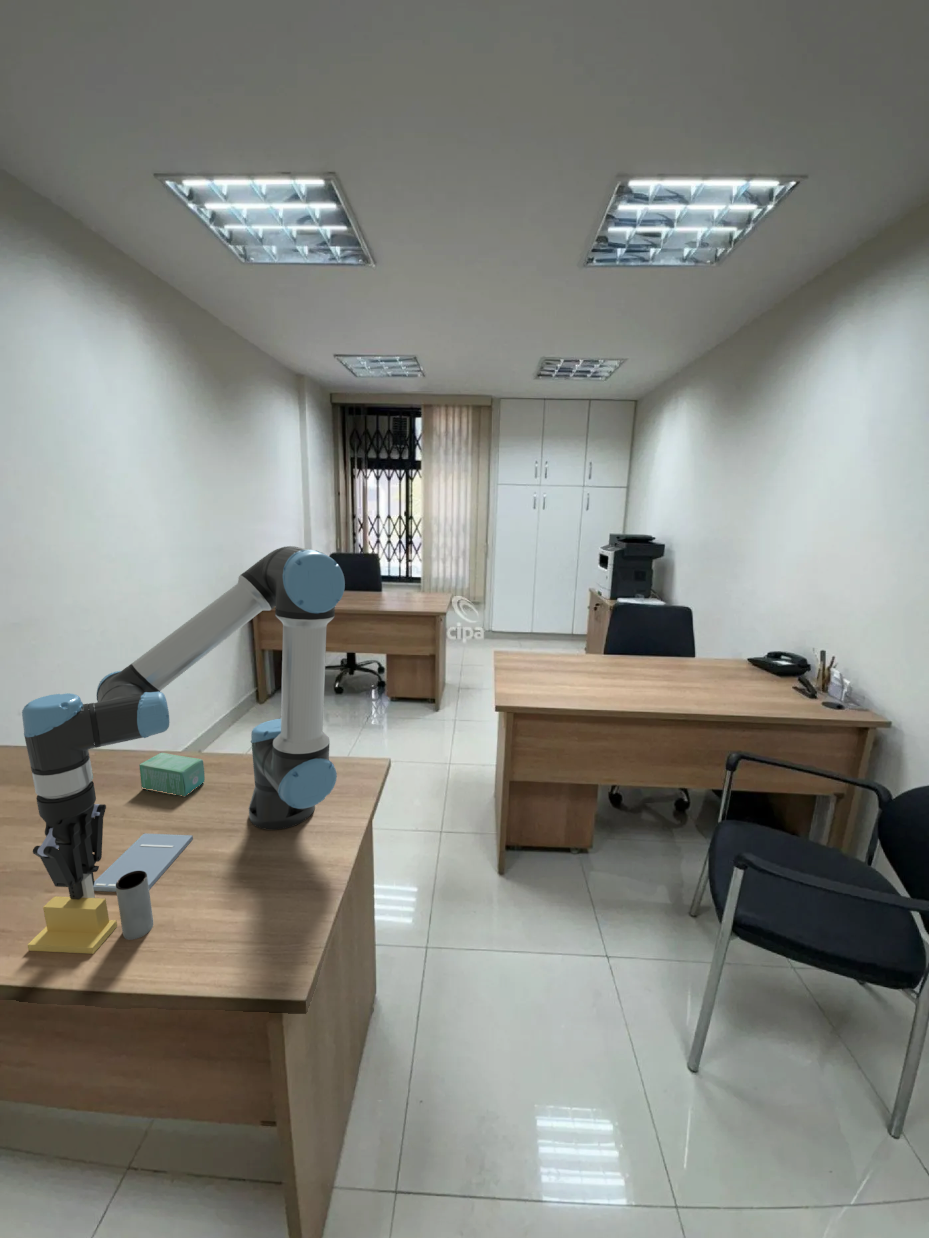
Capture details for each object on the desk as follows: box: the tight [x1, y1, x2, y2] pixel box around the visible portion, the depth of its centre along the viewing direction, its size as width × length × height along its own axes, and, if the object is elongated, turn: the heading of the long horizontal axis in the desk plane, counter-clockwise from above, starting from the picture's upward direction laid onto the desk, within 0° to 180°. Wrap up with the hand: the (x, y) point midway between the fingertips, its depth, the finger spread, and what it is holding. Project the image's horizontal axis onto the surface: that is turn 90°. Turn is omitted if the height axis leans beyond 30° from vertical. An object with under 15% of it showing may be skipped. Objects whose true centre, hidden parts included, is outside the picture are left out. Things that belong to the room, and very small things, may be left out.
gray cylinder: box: [115, 871, 154, 941], centre depth 87 cm, size 4×4×10 cm
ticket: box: [93, 833, 194, 893], centre depth 104 cm, size 11×16×1 cm
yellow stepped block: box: [27, 895, 118, 955], centre depth 85 cm, size 11×6×6 cm, turn 88°
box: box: [139, 752, 206, 797], centre depth 132 cm, size 7×14×8 cm, turn 77°
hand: (85, 908), depth 88 cm, fingers closed
